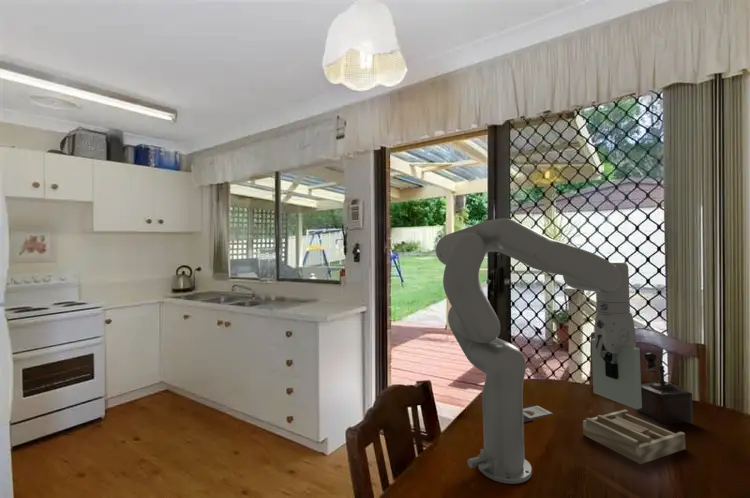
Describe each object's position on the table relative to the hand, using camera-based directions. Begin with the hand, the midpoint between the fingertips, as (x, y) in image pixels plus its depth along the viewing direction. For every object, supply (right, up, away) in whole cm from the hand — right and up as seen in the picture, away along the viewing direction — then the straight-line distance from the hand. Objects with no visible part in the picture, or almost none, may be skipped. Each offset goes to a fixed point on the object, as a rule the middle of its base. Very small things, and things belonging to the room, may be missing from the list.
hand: (615, 376), depth 100 cm
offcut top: (+5, -16, +2) cm, 17 cm away
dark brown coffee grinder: (+26, -19, +19) cm, 37 cm away
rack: (+6, -19, +2) cm, 20 cm away
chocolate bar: (-16, -21, +22) cm, 34 cm away
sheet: (0, -6, 0) cm, 6 cm away
